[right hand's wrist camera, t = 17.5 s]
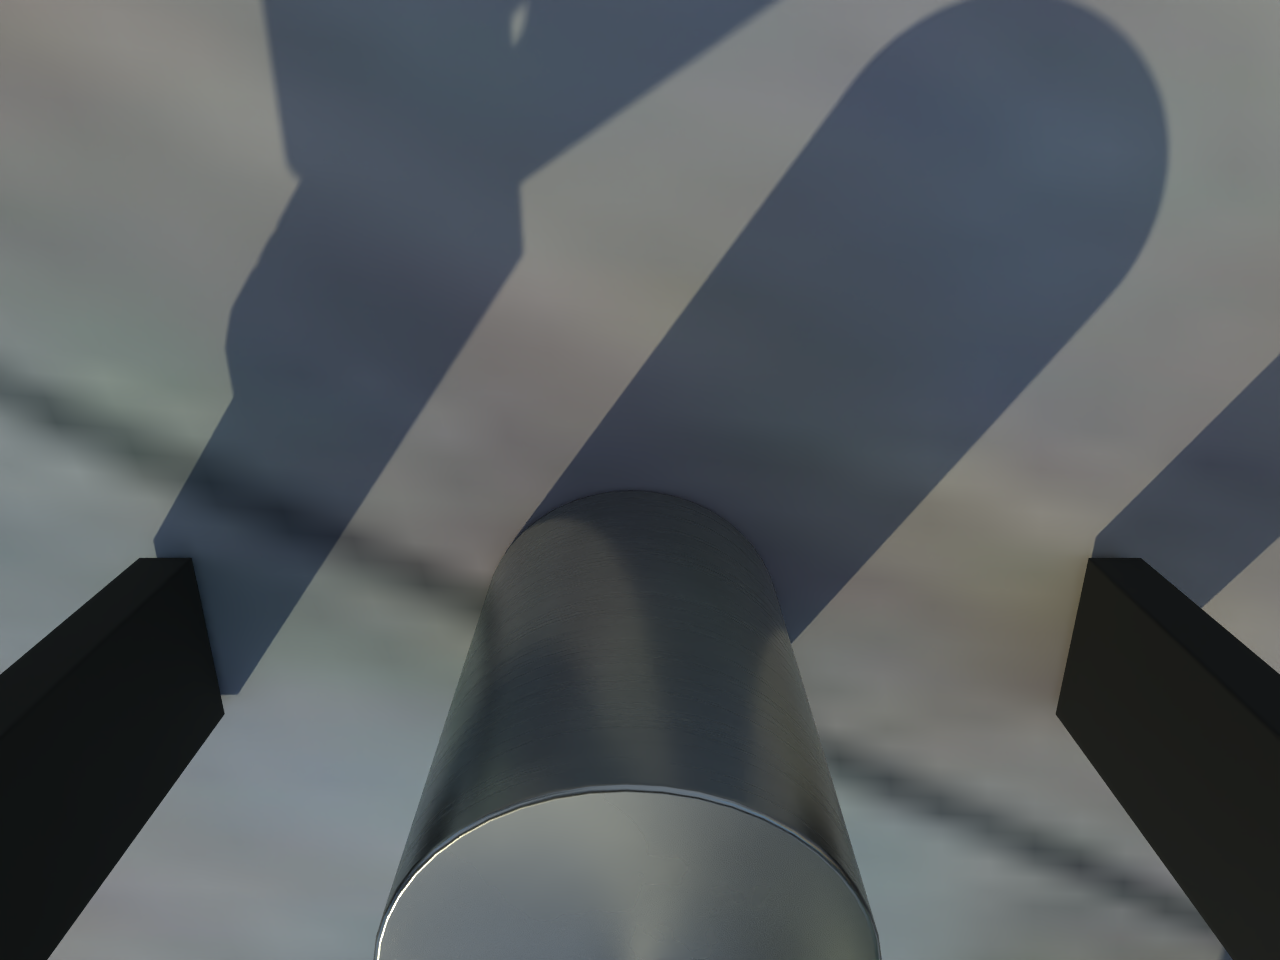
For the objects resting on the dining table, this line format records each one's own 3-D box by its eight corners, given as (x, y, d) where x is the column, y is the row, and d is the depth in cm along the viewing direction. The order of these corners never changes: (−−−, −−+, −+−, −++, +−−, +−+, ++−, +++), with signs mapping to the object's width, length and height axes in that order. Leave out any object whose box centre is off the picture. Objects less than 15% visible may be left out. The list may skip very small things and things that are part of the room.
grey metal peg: (474, 489, 12) (340, 787, 7) (786, 488, 12) (912, 786, 7) (495, 743, 14) (400, 1152, 8) (769, 742, 14) (858, 1152, 8)
